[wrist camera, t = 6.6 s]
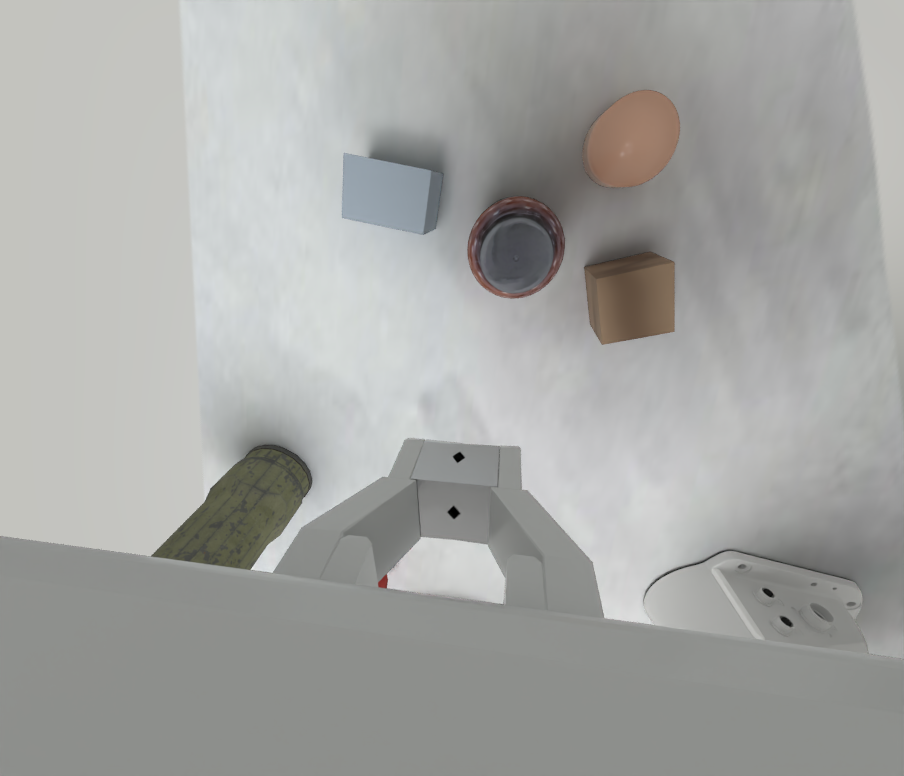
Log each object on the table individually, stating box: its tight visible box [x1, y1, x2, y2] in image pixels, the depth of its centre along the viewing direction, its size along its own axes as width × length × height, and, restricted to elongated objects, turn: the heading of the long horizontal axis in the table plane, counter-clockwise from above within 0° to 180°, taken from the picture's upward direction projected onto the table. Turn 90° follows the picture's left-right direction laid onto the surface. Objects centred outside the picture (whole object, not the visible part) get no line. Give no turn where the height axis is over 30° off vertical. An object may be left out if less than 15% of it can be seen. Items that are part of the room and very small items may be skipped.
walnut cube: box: [584, 252, 674, 345], centre depth 29 cm, size 5×5×5 cm
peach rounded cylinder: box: [582, 90, 680, 188], centre depth 25 cm, size 5×5×4 cm
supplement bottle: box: [468, 196, 565, 298], centre depth 25 cm, size 6×6×11 cm
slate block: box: [342, 153, 443, 235], centre depth 28 cm, size 6×4×5 cm, turn 81°
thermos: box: [151, 445, 312, 570], centre depth 31 cm, size 9×12×35 cm
